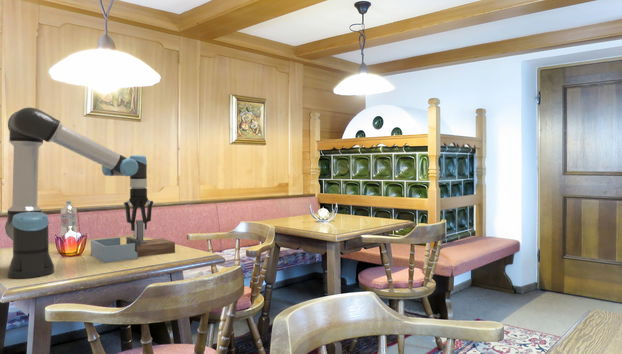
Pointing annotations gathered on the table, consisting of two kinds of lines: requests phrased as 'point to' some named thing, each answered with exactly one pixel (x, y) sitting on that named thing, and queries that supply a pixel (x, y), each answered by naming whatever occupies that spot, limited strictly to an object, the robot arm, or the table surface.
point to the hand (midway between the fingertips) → (139, 236)
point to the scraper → (139, 239)
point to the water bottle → (68, 218)
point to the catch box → (112, 250)
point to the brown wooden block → (155, 247)
